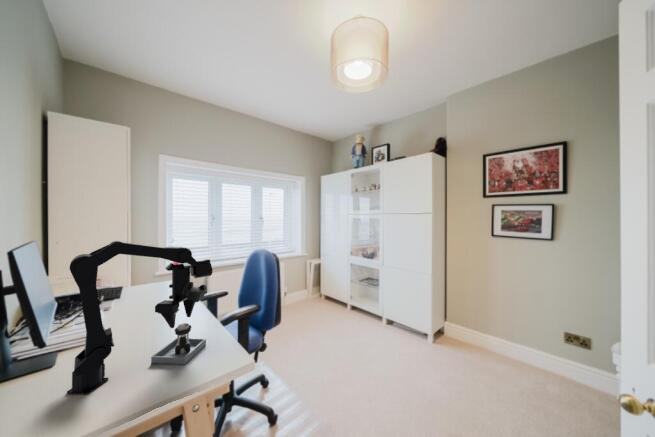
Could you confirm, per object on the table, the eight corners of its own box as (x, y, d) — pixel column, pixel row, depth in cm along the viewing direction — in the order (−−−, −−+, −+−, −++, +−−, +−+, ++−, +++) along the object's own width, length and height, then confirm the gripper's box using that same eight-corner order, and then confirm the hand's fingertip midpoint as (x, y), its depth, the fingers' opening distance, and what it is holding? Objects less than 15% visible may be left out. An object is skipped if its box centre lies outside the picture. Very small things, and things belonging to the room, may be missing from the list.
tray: (184, 365, 81) (184, 357, 81) (151, 364, 81) (151, 356, 81) (205, 345, 94) (205, 338, 94) (176, 344, 94) (176, 337, 94)
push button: (168, 358, 84) (169, 330, 84) (171, 351, 89) (171, 324, 89) (190, 354, 87) (190, 327, 87) (191, 346, 91) (192, 321, 91)
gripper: (186, 288, 78) (185, 335, 78) (215, 274, 97) (215, 312, 97) (153, 287, 79) (153, 334, 78) (188, 274, 97) (188, 312, 97)
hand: (181, 322), depth 88 cm, fingers open, 9 cm apart
